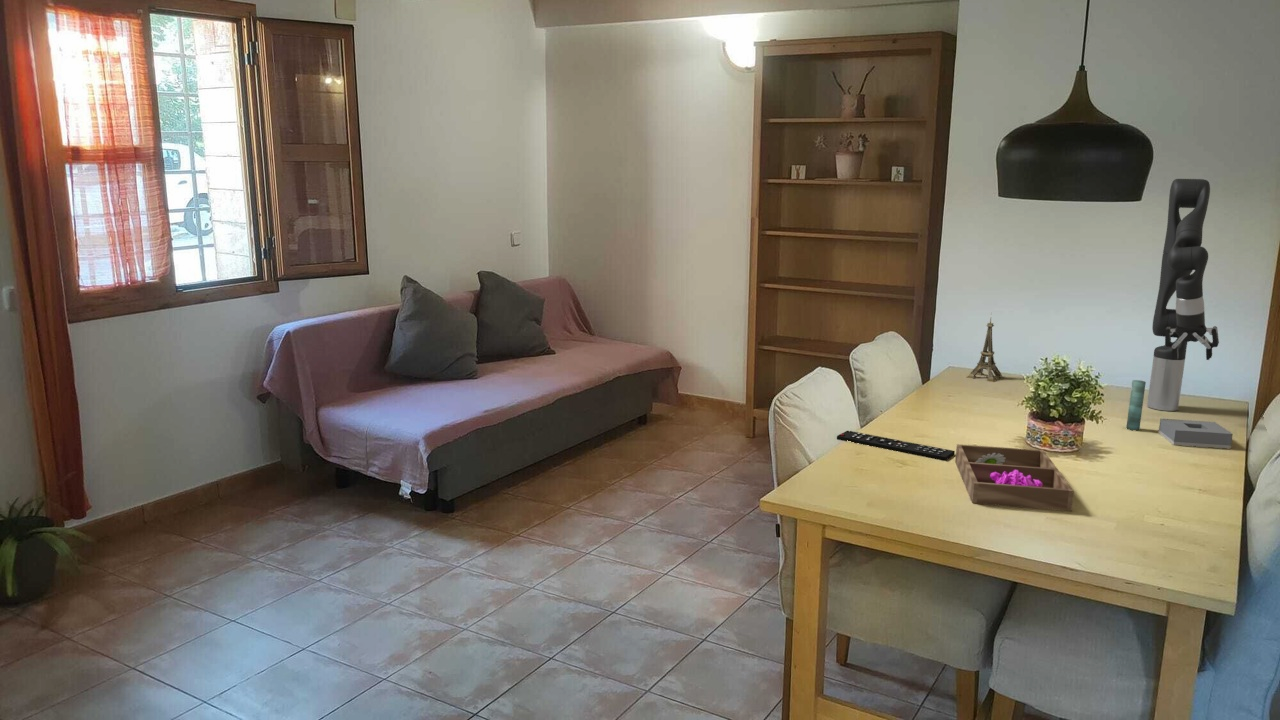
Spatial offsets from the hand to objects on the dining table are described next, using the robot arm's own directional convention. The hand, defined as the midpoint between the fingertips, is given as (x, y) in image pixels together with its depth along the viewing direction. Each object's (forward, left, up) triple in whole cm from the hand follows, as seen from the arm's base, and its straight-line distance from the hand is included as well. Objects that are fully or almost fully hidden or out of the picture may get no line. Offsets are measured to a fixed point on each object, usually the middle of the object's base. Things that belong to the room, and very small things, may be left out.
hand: (1192, 358), depth 293 cm
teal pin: (+14, -19, -20) cm, 31 cm away
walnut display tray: (+78, -66, -20) cm, 104 cm away
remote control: (+51, -92, -21) cm, 108 cm away
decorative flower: (+70, -65, -21) cm, 98 cm away
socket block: (+23, -5, -20) cm, 31 cm away
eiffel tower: (-50, -53, -21) cm, 75 cm away
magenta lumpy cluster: (+86, -66, -21) cm, 111 cm away
